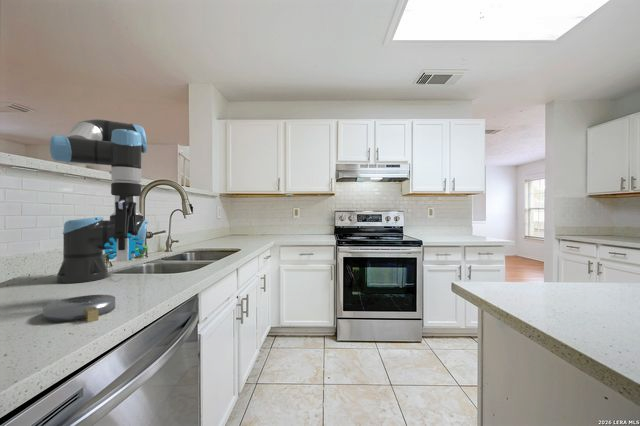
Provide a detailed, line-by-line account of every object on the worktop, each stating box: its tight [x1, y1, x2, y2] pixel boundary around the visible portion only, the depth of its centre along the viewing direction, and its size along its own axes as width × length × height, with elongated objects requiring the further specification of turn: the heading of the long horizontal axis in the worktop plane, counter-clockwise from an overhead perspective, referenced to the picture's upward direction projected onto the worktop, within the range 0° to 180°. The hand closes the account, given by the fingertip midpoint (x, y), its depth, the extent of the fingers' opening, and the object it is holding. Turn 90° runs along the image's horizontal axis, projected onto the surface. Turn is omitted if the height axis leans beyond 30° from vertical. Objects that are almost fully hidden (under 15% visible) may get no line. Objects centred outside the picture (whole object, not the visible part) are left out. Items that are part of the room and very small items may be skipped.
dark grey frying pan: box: [42, 294, 116, 324], centre depth 72 cm, size 17×14×2 cm
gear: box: [104, 233, 149, 262], centre depth 89 cm, size 11×6×10 cm
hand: (126, 258), depth 87 cm, fingers closed on gear, 8 cm apart
